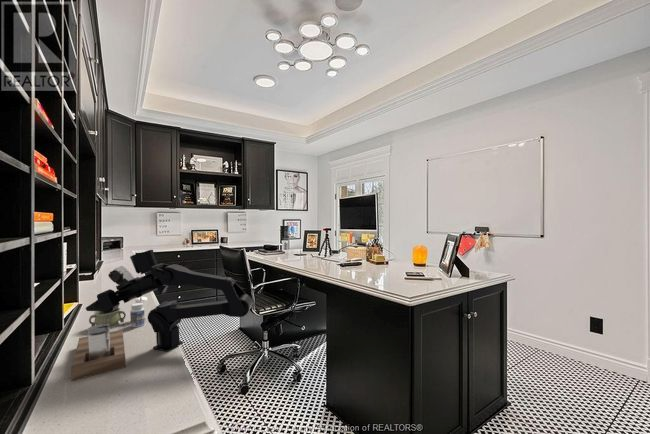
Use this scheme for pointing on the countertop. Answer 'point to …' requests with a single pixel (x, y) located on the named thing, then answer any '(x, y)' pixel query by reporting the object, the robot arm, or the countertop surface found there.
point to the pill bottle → (137, 315)
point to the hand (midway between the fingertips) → (95, 304)
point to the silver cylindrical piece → (99, 341)
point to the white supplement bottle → (144, 301)
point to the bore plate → (89, 368)
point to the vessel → (108, 318)
